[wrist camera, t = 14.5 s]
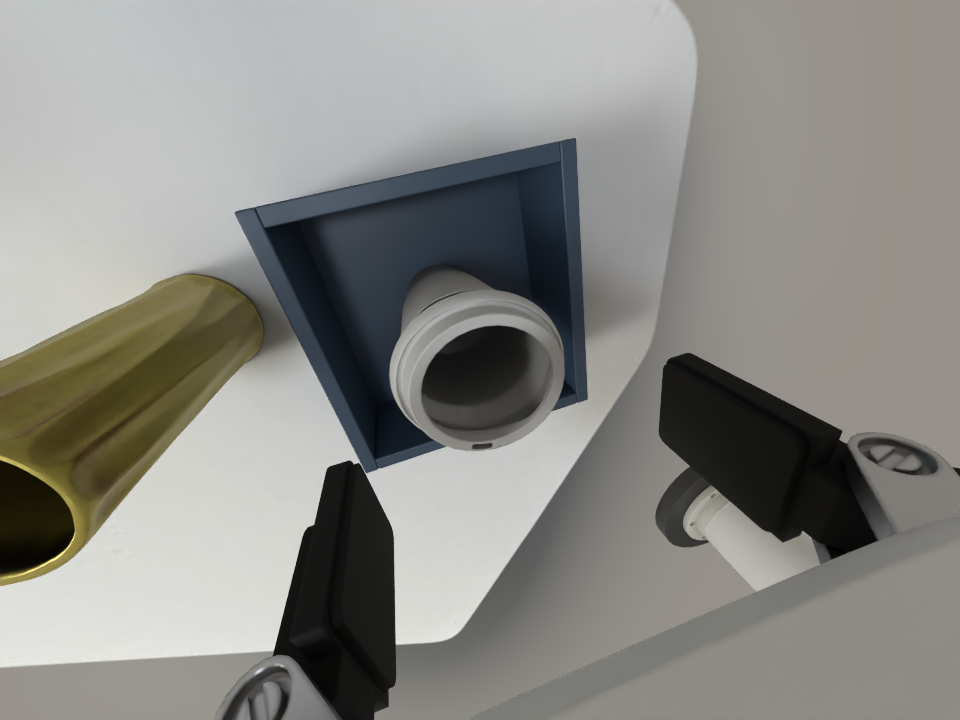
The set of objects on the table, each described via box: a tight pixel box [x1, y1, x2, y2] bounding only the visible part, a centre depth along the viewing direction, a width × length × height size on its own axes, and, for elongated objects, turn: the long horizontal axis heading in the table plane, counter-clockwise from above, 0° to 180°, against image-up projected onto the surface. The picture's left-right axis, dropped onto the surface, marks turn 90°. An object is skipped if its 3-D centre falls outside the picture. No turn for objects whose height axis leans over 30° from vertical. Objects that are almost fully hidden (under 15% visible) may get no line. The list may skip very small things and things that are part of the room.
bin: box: [235, 138, 588, 473], centre depth 20 cm, size 15×15×7 cm
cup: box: [389, 264, 565, 451], centre depth 18 cm, size 7×7×12 cm
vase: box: [0, 274, 263, 586], centre depth 14 cm, size 6×6×14 cm
